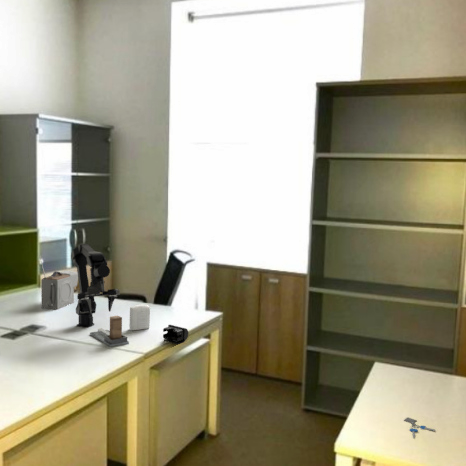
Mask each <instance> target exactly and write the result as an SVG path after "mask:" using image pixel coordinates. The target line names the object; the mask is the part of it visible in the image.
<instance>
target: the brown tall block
mask: <svg viewBox="0 0 466 466" xmlns="http://www.w3.org/2000/svg"><path fill="white" fill-rule="evenodd" d="M122 327H123V317H122V316H121V315H114V316H109V331H110V338H111V339H117V338H122V335H123V332H122V331H123V328H122Z"/></svg>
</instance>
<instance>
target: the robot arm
mask: <svg viewBox="0 0 466 466" xmlns="http://www.w3.org/2000/svg"><path fill="white" fill-rule="evenodd" d="M70 258H71V261H72V264H73V265H74V266H75V268H76V272H78V287H79V293H77V296H76V297H77V300H78V301H77V304H76V307H75V313H76V315H78V323H77V324H76V327H82V328H89V327H91V326H94V325H95V323H94V317H93V314H96V311H97V303H96V301H95V297H100V296H101V297H102V296H107V300H108V301H107V303H108V305H107V306H108V312H111V311H112V308H113V304H114V301H115V298H118V296H119V295H121V294H120V290H119V289H118V288H112V289H107V291H106V289H105V280H104V278H107V277H108V276H109V275H110V273H111V270H110V267H109V266H108V260H107V259H106V256H105V255H104V253H103V252H101V251H96V250H94V249H93V248H92V247H91V246H90V244H88V243H80V244H79V245H78V246H76V247H75V248H73V249H72V251H71V254H70ZM87 264H88V266H89V267H90V269H89V271H90V280H91V281H90V283H89V278H88V271H87V270H88V269H87V268H88V267H87Z"/></svg>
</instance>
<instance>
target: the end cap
mask: <svg viewBox="0 0 466 466" xmlns="http://www.w3.org/2000/svg"><path fill="white" fill-rule="evenodd" d="M162 332H163V335H162V338H163V341H164V342H167V343H170V344H174V345H180V344H183V343H185V342H186V341H187V340H188V337H189V331H188V329H187V328H185V327H181V326H177V325H175V324H168V326H167V327H164V328H163V329H162ZM165 332H166V333H165Z"/></svg>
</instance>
